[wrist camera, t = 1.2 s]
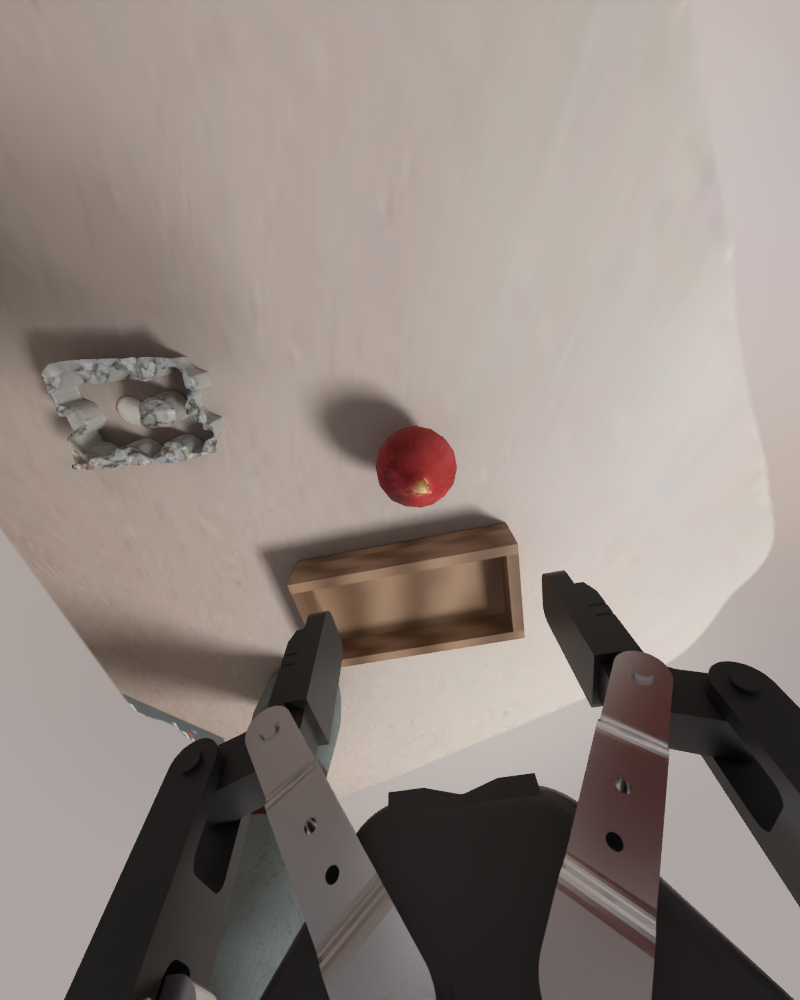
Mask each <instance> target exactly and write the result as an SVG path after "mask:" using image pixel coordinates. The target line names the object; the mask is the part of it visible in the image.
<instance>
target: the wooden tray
mask: <svg viewBox="0 0 800 1000" xmlns="http://www.w3.org/2000/svg"><path fill="white" fill-rule="evenodd" d="M287 586H288V589H289V591H290V593H291V595H292V598H293V600H294V602H295V604H296V607H297V609H298V611H299V613H300V616H301V618H302V620H303V622H304V625H305V624H306V621H307V618H308V615H309V614H312V613H318V612H323V611H330V612H331V614H332V617H333V619H334V622H335V624H336V627H337V630H338V632H339V635H340V637H341V640H342V646H343V656H342V663H341V667H345V666H351V665H358V664H364V663H370V662H376V661H383V660H389V659H395V658H401V657H408V656H414V655H420V654H426V653H432V652H439V651H445V650H451V649H457V648H464V647H470V646H476V645H482V644H489V643H495V642H501V641H507V640H513V639H520V638H525V636H524V623H523V609H522V595H521V582H520V568H519V555H518V544H517V542H516V540H515V538H514V536H513V535H512V533H511V531H510V529H509V527H508V526H507V524H506V523H501V524H496V525H491V526H485V527H480V528H474V529H469V530H464V531H458V532H453V533H447V534H442V535H437V536H431V537H426V538H420V539H415V540H410V541H404V542H399V543H394V544H388V545H383V546H377V547H372V548H367V549H361V550H356V551H350V552H345V553H340V554H334V555H329V556H324V557H318V558H313V559H307V560H302V561H297V562H296V565H295V567H294V570H293V572H292V575H291V577H290V580H289V582H288V584H287Z"/></svg>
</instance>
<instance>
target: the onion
mask: <svg viewBox="0 0 800 1000" xmlns="http://www.w3.org/2000/svg"><path fill="white" fill-rule="evenodd" d="M456 469H457V465H456V460H455V456H454V451H453V450H452V448H451V447H450V445H449V444H448V443H447V441H446V440H445V439H444V438H443V437H442V436H440V435H439V434H437V433H436V432H434V431H433V430H431V429H427V428H422V427H417V426H414V427H410V428H405V429H401V430H399V431H398V432H396V433H395V434H393V435H392V436H390V437H389V438H388V439H387V441H386V442H385V443H384V445H383V446H382V448H381V449H380V451H379V453H378V458H377V462H376V471H377V476H378V480H379V484H380V486H381V488H382V489H383V490H384V491H385V493H386V494H387V495H388V496H389V498H390V499H391V500H392V501H395V502H397V503H400V504H402V505H404V506H411V507H424V506H428V505H432V504H434V503H435V502H437V501H438V500H439V499H441V498H442V497H444V496H445V494H446V493H447V492H448V490H449V489H450V488H451V487H452V485H453V483H454V479H455V474H456Z"/></svg>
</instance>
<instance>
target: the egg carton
mask: <svg viewBox="0 0 800 1000" xmlns="http://www.w3.org/2000/svg"><path fill="white" fill-rule="evenodd" d="M174 367H175V368H177V369H179V371H180V372H181V373H182V377H183V381H184V386H185V387H186V388H187V389H189V390H191V391H190V392H188V393H187V394H186V395H187V398H188V400H187V399H186V398H185V397H184V396H183V395H181V394H180V393H178V392H175V391H167V392H163V393H159V394H156V395H152V396H150V397H148V398H147V399H144V400H143V401H142V402H141V401H140V400H138V399H136V398H134V397H131V396H124V397H121V398H120V399H119V400H118V402H117V411H118V413H119V415H120V417H122V419H124V420H125V421H126V422H128V423H130V424H133V425H140V424H142V425H143V426H145V427H148V428H156V427H170V426H172V425H174V424H176V423H178V422H180V421H182V420H185V419H186V418H188V417H189V415H190V416H193V417H194V420H195V421H196V422H199V423H202V424H203V429H204V430H211V431H213V434H214V436H213V437H211V438H209V439H208V440H206V441H205V443H204V444H203V443H202V441H201V440H200V439H199V438H197V437H196V436H194V435H191V434H183V435H180V436H178V437H176V438H174V439H172V440H170V441H168V442H164V446H163V447H162V446H161V445H160V444H159V443H158V442H156V441H154V440H152V439H149V438H144V439H140V440H138V441H135V442H133V443H131V444H128V445H126V446H124V447H122V448H119V447H118V446H116V445H114V444H112V443H109V442H104V441H103V440H102V438H101V436H100V433H99V431H98V430H99V429H101V428H102V427H104V426H105V424H106V416H105V413H104V412H103V410H102V409H101V408H100V407H99V406H98V405H97V404H96V403H94V402H92V401H89V400H83V398H82V397H81V394H80V392H79V389H78V386H79V385H81V384H82V383H83V382H84V381H85V383H89V384H92V385H104V384H108V383H113V382H117V381H122V380H124V379H125V378H127V376H128V377H129V378H130V379H138V380H141V381H144V382H147V381H150V380H152V379H155V378H159V377H163V376H167V375H169V374H171V373H172V371H173V369H174ZM41 375H42V377H43V379H44V381H45V385H46V392H47V393H50V394H51V395H52V397H53V398H54V400H55V403H56V406H57V409H56V413H57V414H58V416H60V417H64V416H66V417H67V419H68V421H69V423H70V425H71V427H72V429H73V431H74V433H72V434H71V435H70V436H69V437H68V440H67V442H68V446H69V449H70V451H71V453H72V454H73V455H74V460H75V463H76V464H75V465H72V468H74V469H78V470H79V469H86V470H89V469H106V468H115V467H121V466H125V465H147V464H157V463H175V462H179V461H183V460H187V459H191V458H194V457H198V456H202V455H205V454H209V453H215V452H218V450H216V447H215V445H216V443H217V436H218V434H219V433H220V432H222V431H224V430H225V429H226V426H225V423H224V419H223V417H221V416H216V415H213V414H211V413H210V412H209V411H208V410H207V409H206V408H205V406H204V405H203V401H202V396H203V394H204V392H205V390H206V389H207V388H209V387H211V386H212V382H211V379H210V375H209V373H208V372H204V371H201V370H199V369H197V368H195V367H194V366H193V365H192V364H191V362H190V361H189V359H188V357H175V358H162V357H140V358H138V357H131V358H124V359H119V358H109V359H78V360H69V361H60V362H54V363H50V364H48V365H47V366H46V367H45V369H44V370H43V372H42V374H41Z"/></svg>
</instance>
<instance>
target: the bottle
mask: <svg viewBox="0 0 800 1000" xmlns="http://www.w3.org/2000/svg"><path fill="white" fill-rule="evenodd" d="M278 672H279V671H278ZM278 672H277V673H276V674H275V675H274V676H273V678H272V679H271V680H270V682H269V683H268V685H267V687H266V688H265V690H264V692H263V694H262V696H261V698H260V700H259V702H258V704H257V706H256V709H255V711H254V713H253V717H252V721H253V720H254V718H255V717H256V716H257V715H258V714H260V713H261V712H262V711H264V710H265V709H266V708H267V706H268V703H269V700H270V697H271V693H272V690H273V687H274V684H275V681H276V678H277V675H278ZM252 721H251V722H252ZM340 721H341V695H340V689H339V685H338V690H337V696H336V703H335V710H334V716H333V723H332V730H331V736H330V743H329V744H328V745H322V746H318V750H317V755H316V760H317V762H318V764H319V766H320V768H321V770H322V771H323V773H324V775H325V777H326V778H327V774H328V770H329V767H330V763H331V759H332V756H333V752H334V748H335V744H336V740H337V736H338V732H339V728H340ZM304 921H305V919H304V916H303V913H302V910H301V908H300V905H299V902H298V899H297V897H296V894H295V891H294V888H293V885H292V883H291V880H290V877H289V874H288V872H287V869H286V866H285V863H284V860H283V858H282V855H281V852H280V849H279V846H278V844H277V841H276V838H275V835H274V833H273V830H272V827H271V824H270V821H269V819H268V816H267V813H266V810H265V806H263V807H261V808H259V809H257V810H255V811H253V812H252V813H251V816H250V820H249V824H248V828H247V832H246V837H245V841H244V845H243V849H242V853H241V857H240V861H239V865H238V870H237V874H236V878H235V882H234V886H233V890H232V894H231V898H230V903H229V907H228V911H227V915H226V919H225V923H224V927H223V931H222V935H221V940H220V944H219V948H218V952H217V956H216V960H215V964H214V968H213V973H212V977H211V981H210V985H209V990H210V991H212V993H213V994H214V995H215V997H216V1000H259V999H260V997H261V996H262V994H263V992H264V990H265V989H266V987H267V985H268V984H269V982H270V980H271V978H272V977H273V975H274V973H275V971H276V970H277V968H278V966H279V965H280V963H281V961H282V959H283V958H284V956H285V954H286V953H287V951H288V949H289V947H290V946H291V944H292V942H293V940H294V939H295V937H296V935H297V934H298V932H299V930H300V928H301V927H302V925H303V923H304Z"/></svg>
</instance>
